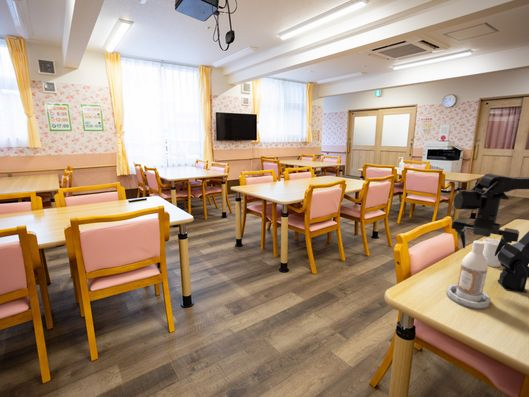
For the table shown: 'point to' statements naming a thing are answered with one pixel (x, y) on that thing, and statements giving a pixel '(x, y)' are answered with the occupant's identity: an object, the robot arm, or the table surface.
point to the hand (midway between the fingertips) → (479, 251)
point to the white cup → (491, 252)
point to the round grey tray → (470, 304)
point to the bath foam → (472, 274)
